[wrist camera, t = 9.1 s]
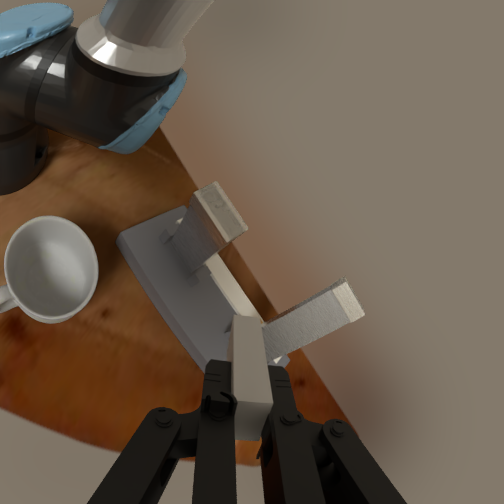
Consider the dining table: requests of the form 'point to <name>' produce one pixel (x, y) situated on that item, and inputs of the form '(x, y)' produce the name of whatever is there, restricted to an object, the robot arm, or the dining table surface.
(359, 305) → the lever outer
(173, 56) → the robot arm
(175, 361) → the dining table surface
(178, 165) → the dining table surface
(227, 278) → the grey stand base
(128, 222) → the dining table surface
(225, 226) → the lever inner
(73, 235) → the teacup
